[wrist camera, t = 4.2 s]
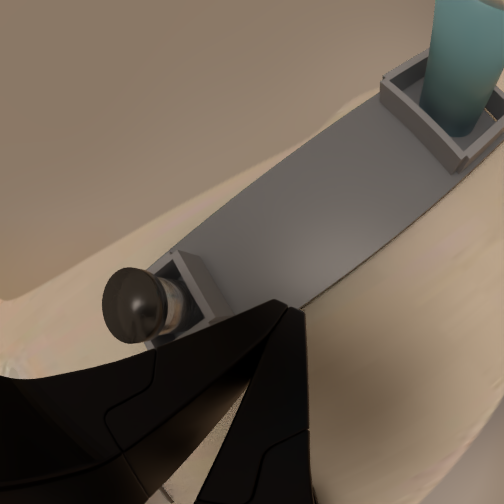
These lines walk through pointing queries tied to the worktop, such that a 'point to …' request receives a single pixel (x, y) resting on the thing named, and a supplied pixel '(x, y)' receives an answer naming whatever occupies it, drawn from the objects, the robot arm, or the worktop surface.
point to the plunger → (147, 306)
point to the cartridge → (463, 62)
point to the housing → (328, 203)
